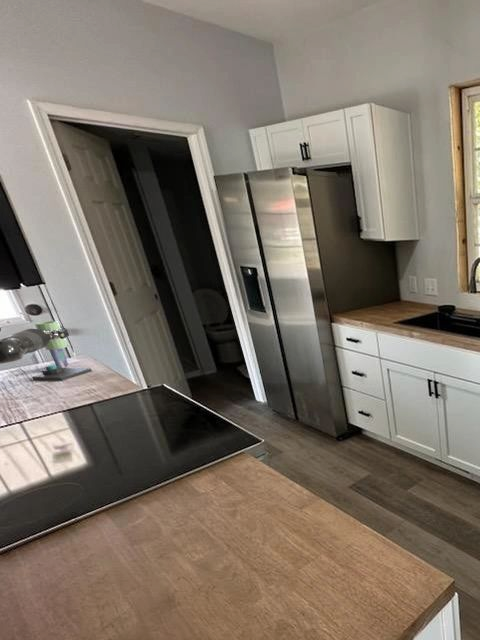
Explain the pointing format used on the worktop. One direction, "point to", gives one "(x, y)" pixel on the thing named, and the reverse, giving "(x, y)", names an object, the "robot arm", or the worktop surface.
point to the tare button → (51, 367)
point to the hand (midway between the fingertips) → (53, 331)
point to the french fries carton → (59, 357)
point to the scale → (61, 373)
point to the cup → (50, 326)
